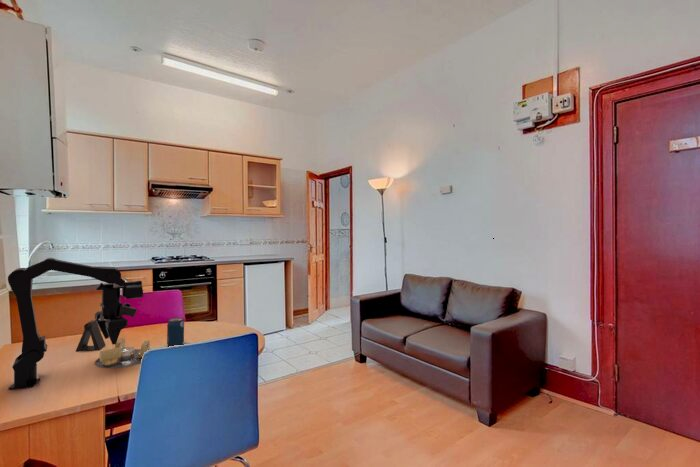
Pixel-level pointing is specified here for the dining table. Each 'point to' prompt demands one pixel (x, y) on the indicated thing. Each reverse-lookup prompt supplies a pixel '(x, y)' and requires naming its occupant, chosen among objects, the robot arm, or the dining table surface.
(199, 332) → the dining table surface
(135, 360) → the levelling base
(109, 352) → the wing knob
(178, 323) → the soda can
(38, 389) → the dining table surface
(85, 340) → the phone stand
